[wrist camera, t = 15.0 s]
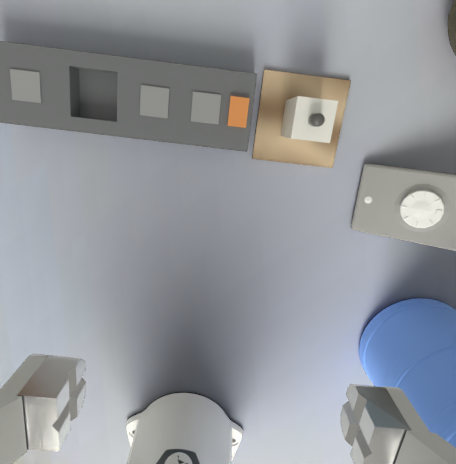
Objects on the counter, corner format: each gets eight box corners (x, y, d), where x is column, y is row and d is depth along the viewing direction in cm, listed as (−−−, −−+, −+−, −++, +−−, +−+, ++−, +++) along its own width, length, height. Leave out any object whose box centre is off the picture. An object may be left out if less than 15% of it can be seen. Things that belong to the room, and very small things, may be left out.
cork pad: (331, 167, 42) (332, 167, 42) (252, 158, 42) (252, 158, 41) (349, 81, 39) (350, 80, 39) (264, 70, 39) (264, 69, 38)
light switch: (362, 164, 40) (512, 182, 34) (368, 161, 45) (500, 177, 39) (349, 231, 43) (486, 260, 37) (356, 221, 48) (477, 245, 42)
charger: (313, 139, 41) (334, 144, 32) (280, 136, 40) (293, 139, 32) (319, 104, 39) (343, 99, 31) (285, 100, 39) (301, 94, 31)
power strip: (245, 148, 41) (247, 152, 37) (14, 121, 40) (-12, 121, 36) (254, 78, 39) (257, 72, 34) (8, 47, 38) (-21, 37, 33)
